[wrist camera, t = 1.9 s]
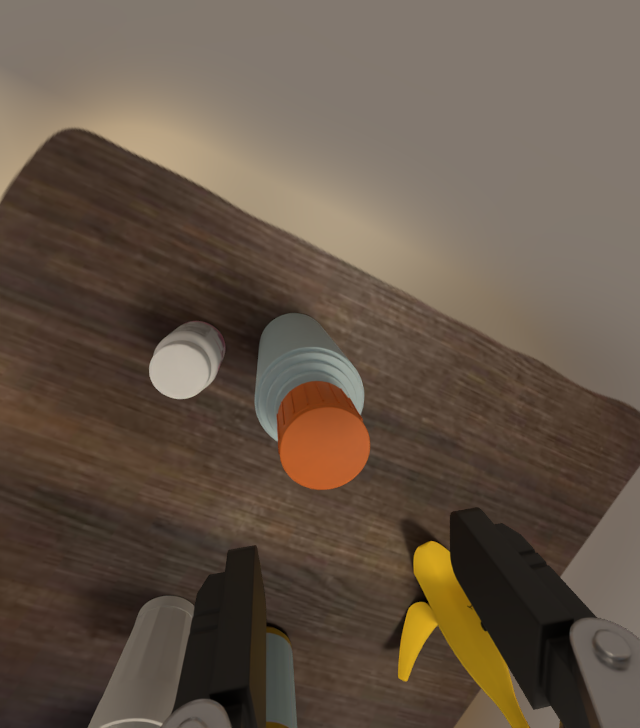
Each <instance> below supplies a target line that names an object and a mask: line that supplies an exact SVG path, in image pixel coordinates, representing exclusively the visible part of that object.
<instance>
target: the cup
mask: <svg viewBox="0 0 640 728" xmlns="http://www.w3.org/2000/svg"><path fill="white" fill-rule="evenodd" d="M193 612H194V605H193V604H192V603H190V602H189V601H188V600H186V599H184V598H181V597H177V596H161V597H157V598H154V599H152V600H150V601H149V602H147V603H146V604H145V605H144V606H143V607H142V608H141V609H140V611H139V613H138V616H137V619H136V622H135V624H134V628H133V630H132V632H131V634H130V637H129V639H128V641H127V643H126V646H125V648H124V650H123V652H122V655H121V657H120V659H119V661H118V664H117V666H116V668H115V670H114V672H113V675H112V677H111V679H110V681H109V684H108V686H107V688H106V690H105V693H104V695H103V697H102V699H101V700H100V702H99V704H98V706H97V709H96V711H95V713H94V715H93V717H92V719H91V722H90V724H89V726H88V728H160V727H161V726H162V724H163V723H164V721H165V720H166V719H167V718H168V717H169V716H170V715H171V712H172V710H173V707H174V703H175V699H176V694H177V689H178V684H179V680H180V675H181V670H182V665H183V660H184V656H185V651H186V646H187V641H188V636H189V634H190V627H191V622H192V617H193V616H194V614H193Z"/></svg>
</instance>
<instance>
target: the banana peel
mask: <svg viewBox="0 0 640 728" xmlns="http://www.w3.org/2000/svg"><path fill="white" fill-rule="evenodd" d="M413 565H414V574H415V576H416V578H417V580H418V582H419V584H420V586H421V588H422V590H423V592H424V594H425V596H426V598H427V600H428V602H429V604H427V603H425V602H417V603H414V604H413V605H411V606H410V607H409V609H408V612H407V615H406V619H405V623H404V627H403V632H402V637H401V644H400V652H399V664H398V678H399V679H401V680H403V681H407V680H408V678H409V675H410V672H411V669H412V667H413V665H414V662H415V660H416V658H417V656H418V654H419V652H420V650H421V648H422V646H423V644H424V643H425V641H426V640H427V638H428V636H429V635H430V634H431V632H432V631H433V630H434V628H435V627H436V626H437V625H438V626H439V628H440V630H441V632H442V633H443V635H444V637H445V639H446V640H447V642H448V644H449V645H450V647H451V649H452V650H453V652H454V653H455V655H456V656H457V658H458V659H459V661H460V662H461V663H462V665H463V666H464V668H465V669H466V670H467V671H468V673H469V674H470V675H471V677H472V678H473V679H474V680H475V681H476V683H477V684H478V685H479V686H480V687H481V688H482V690H483V691H484V692H485V693H486V694H487V695H488V696H489V697H490V698H491V699H492V700H493V701H494V702H495V704H496V705H497V706H498V707H499V709H500V710H501V711H502V713H503V714H504V716H505V717H506V719H507V720H508V722H509V724H510V725H511V727H512V728H530V727H529V725H528V723H527V721H526V719H525V718H524V715H523V713H522V711H521V709H520V707H519V705H518V702H517V699H516V696H515V693H514V689H513V685H512V681H511V678H510V674H509V670H508V666H507V664H506V662H505V660H504V659H503V657H502V655H501V654H500V652H499V650H498V649H497V647H496V645H495V644H494V642H493V640H492V638H491V637H490V635H489V633H488V632H487V630H486V628H485V627H484V625H483V623H482V622H481V620H480V618H479V616H478V615H477V613H476V611H475V610H474V608H473V606H472V605H471V603H470V601H469V600H468V598H467V596H466V594H465V593H464V591H463V589H462V588H461V586H460V584H459V583H458V581H457V579H456V577H455V574H454V572H453V568H452V565H451V560H450V552H449V551H448V550H447V549H446V548H444V547H443V546H442V545H440V544H439V543H437V542H434V541H429V542H427V543H425V544H423V545H421V546H419V547H418V548H417V549H416V551H415V554H414V561H413Z"/></svg>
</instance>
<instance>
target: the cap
mask: <svg viewBox="0 0 640 728" xmlns="http://www.w3.org/2000/svg"><path fill="white" fill-rule="evenodd" d="M362 420H363V419H362V417H361V416H360V414H359V412H358V411H357V409H356V407H355V406H354V404H353V402H352V401H351V399H350V397H349V398H348V396H347V395H346V394H345V393H344V391H343V390H342V389H341V388H339V387H337V386H335V385H333V384H331V383H329V382H323V381H311V382H306V383H303V384H301V385H299V386H297V387H295V388H294V389H292V390H291V391H289V393H288V394H287V395H286V396H285V397H284V399H283V400H282V401H281V404H280V407H279V410H278V414H277V434H278V451H279V454H280V459H281V463H282V465H283V468H284V469H285V471H286V473H287V474H288V475H289V476H290V477H291V478H292V479H293V480H294V481H296V482H297V483H299V484H300V485H302V486H305V487H307V488H311V489H317V490H326V489H333V488H336V487H339V486H342V485H344V484H346V483H348V482H349V481H351V480H352V479H353V478H355V477H356V476H357V475H358V474H359V473H360V471H361V470H362V469H363V467H364V465H365V464H366V462H367V459H368V456H369V452H370V438H369V434H368V431H367V429H366V427H365V425H364V424H363V422H362Z"/></svg>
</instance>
